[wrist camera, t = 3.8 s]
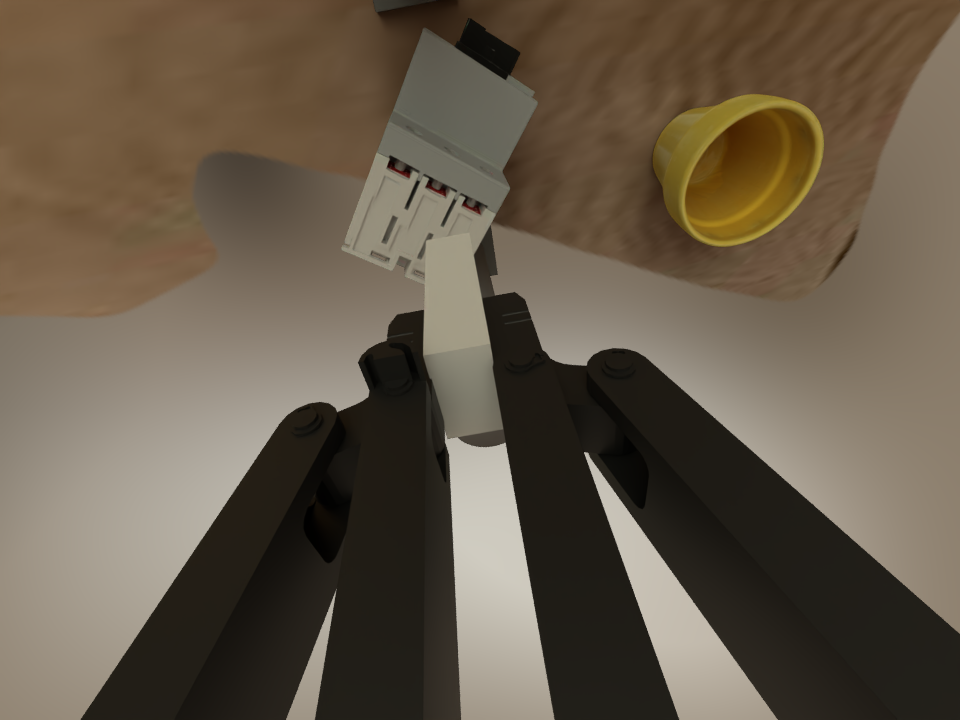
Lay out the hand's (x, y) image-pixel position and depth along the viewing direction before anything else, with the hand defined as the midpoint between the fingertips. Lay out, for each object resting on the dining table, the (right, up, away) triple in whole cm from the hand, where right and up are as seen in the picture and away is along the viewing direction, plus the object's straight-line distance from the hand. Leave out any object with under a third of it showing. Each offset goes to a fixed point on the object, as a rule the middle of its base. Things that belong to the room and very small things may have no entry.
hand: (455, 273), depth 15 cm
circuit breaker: (-3, +17, +21) cm, 27 cm away
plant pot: (+20, +16, +24) cm, 35 cm away
